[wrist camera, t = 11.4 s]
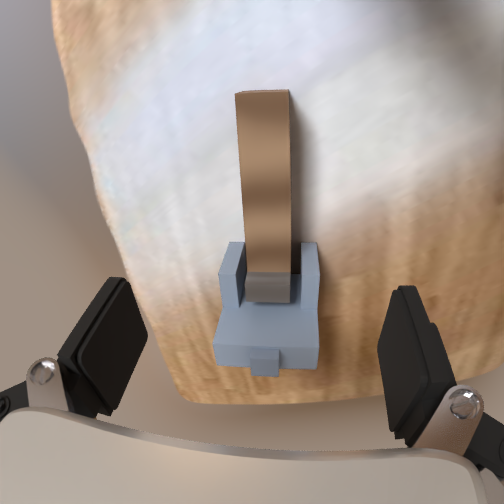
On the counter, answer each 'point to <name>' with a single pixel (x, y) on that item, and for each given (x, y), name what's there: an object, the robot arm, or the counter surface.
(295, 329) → the grey slotted holder
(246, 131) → the brown wooden bar
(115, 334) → the robot arm
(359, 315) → the counter surface
